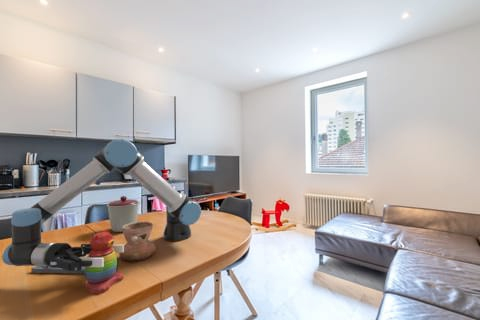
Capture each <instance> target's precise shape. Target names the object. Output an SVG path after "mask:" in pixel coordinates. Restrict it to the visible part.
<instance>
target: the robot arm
mask: <svg viewBox="0 0 480 320" xmlns="http://www.w3.org/2000/svg"><path fill="white" fill-rule="evenodd" d="M144 158H145V157H144V155H143V154H142V153H141V152H140V151H139V150H137V147H136V146H135V144H134V143H133V142H131V141H130V140H127V139H124V138H116V139H113V140H111V141H109V142H108V143H107V144H106V145H105V146H104V147H103V148H102V149H101V150H100V151H99V152H98V153H97V154H96V155H95V156H93V158H92V160H91V162H90V163H88V164H87V165H85V166H84V167H83V168H82V169H80V170H79V171H77V172H76V173H75V174H73V175H72V176H71V177H69V178H68V179H67V180H65V181H64V182H62V183H61V184H60V185H59V186H57V187H56V188H55V189H54V190H52V191H51V192H49V193H48V194H47V195H46V196H44V197H43V198H41V199H40V200H39V201H38V202H37V203H35V204H34V205H32V206H31V207H29V208H22V209H19V210H14V211H13V212H11V221H10V223H11V244H9V245H8V246H7V247H6V248H5V249H4V251H3V253H2V256H1V259H2V262H3V263H4V264H5V265H7V266H15V267H23V266H26V267H27V266H28V267H29V266H32V267H36V266H44V267H46V266H50V267H57V268H61V269H65V270H69V271H74V270H75V268H77V271H79V270H81V269H82V267H103V266H104V258H83V260H82V259H81V258H79V257H84V256H86V255H87V254H89V253H90V252H91V251H92V249H91V247H90V243H81V244H80V246H71V245H70V244H69V243H67V242H42V225H43V224H44V223H45V222H47V221H48V220H49V219H50V218H52V217H53V216H54V215H55V214H56V213H58V212H59V211H60V210H61V209H63V208H64V207H65V206H66V205H67V204H68V203H70V202H71V201H72V200H74V199H76V197H78V196H79V195H80V194H81V193H83V192H84V191H85V190H86V189H88V188H89V187H90V186H91V185H92V184H94V183H95V182H96V181H97V180H99V179H100V178H101V177H102V176H103V175H105V174H106V173H107V174H110V173H111V172H112V171H114V170H115V169H116V170H117V171H118V172H120V173H121V174H122V175H123V176H130V177H131V178H132V179H133V180H135V182H137V183H138V184H139V185H141V186H142V187H143V188H144V189H146V190H147V191H148V193H150V194H151V195H153V196H154V197H155V198H156V199H157V200H159V202H161V203H162V204H163V205H165V206H166V207H165V208H166V224H165V227H164V231H163V234H162V237H163V238H162V239H163V240H165V241H170V242H176V241H177V242H178V241H183V240H187V239H189V238H190V237H192V230H191V227H190V226H191V225H194V224H196V222H198V221H199V220H200V217H201V214H202V208H201V206H200V204H199V203H198V202H196V201H193V200H192V199H191V198H190V197H189V196H188V195H187V194H185V193H180V192H178V190H176V189H175V187H173V186H172V185H171V184H170V183H169V182H168V181H167V180H166V179H164V177H162V176H161V175H160V174H159V173H158V172H157V171H156V170H154V169H153V168H152V167H151V166H150V165H149V164H148V163H147V162H146V161H145V159H144ZM124 245H125V244H113V245H112V247H113V248H114V251H115V253H116V254H117V253H118V254H119V253H123V252H124ZM82 251H83V252H84V254H82Z"/></svg>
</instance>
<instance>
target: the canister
mask: <svg viewBox="0 0 480 320" xmlns="http://www.w3.org/2000/svg"><path fill="white" fill-rule="evenodd" d="M139 205H140V201H138V200H136V199H128V198H127V196H126V195H122V196H120V198H119V200H114V201H110V202H109V203H107V204H106V207H107V210H108V218H109V225H110V228H111V231H112V232H115V233H123V226H124V225H127V224H130V223H135V222H138V221H137V218H138V212H139V211H138V210H139Z"/></svg>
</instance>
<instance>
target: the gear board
mask: <svg viewBox="0 0 480 320" xmlns="http://www.w3.org/2000/svg"><path fill="white" fill-rule="evenodd" d="M115 254H116V255H117V253H115ZM88 255H89V254H87V255H86V256H84V257H82V258H81V259H82V260H83V258H87V256H88ZM30 269H31V271H30V272H31V273H33V274H34V273H35V274H38V273H39V274H40V273H44V274H45V273H46V274H85V267H82V269H81V270H79V271H77V268H75V270H74V271H69V270H65V269H61V268H57V267H55V268H53V269H48V266H46V267H44V266H33V267H31V268H30Z"/></svg>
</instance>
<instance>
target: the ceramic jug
mask: <svg viewBox="0 0 480 320" xmlns="http://www.w3.org/2000/svg"><path fill="white" fill-rule="evenodd" d="M153 226H154V224H153V223H152V222H149V221H136V222H135V223H130V224H127V225H124V226H123V232H122V233H123V236H124V238H125V240H126V242H127V243H126V244H123V245H124V252H123V253H118V254H119V257H120V258H121V259H122V260H124V261H128V262H133V261H134V262H137V261H141V260H144V259H146V258H148V257H150V256H151V255H153V254H154V252H155V251H156V245H155V243H154V242H151V241H150V240H149V238H150V236H151V232H152V230H153Z"/></svg>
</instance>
